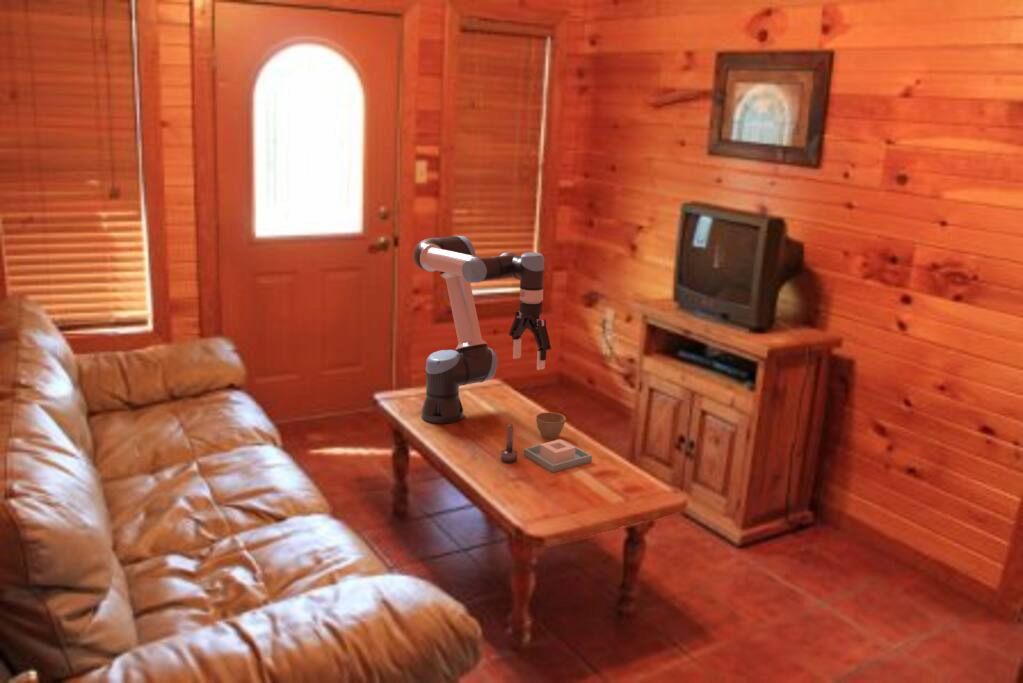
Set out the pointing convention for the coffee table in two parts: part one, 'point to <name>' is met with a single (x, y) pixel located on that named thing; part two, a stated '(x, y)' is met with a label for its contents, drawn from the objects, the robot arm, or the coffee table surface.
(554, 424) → the flower pot
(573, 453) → the ring
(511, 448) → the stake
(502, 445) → the coffee table surface
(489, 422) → the coffee table surface
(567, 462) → the tray
